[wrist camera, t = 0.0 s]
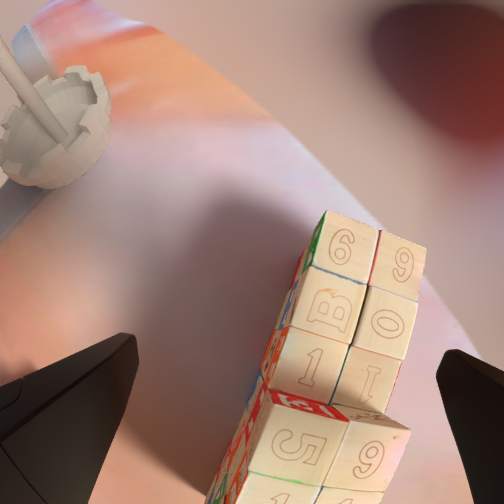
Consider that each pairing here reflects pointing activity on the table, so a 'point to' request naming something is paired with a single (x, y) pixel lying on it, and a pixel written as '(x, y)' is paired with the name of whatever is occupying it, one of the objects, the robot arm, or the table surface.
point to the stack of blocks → (329, 376)
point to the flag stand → (53, 125)
